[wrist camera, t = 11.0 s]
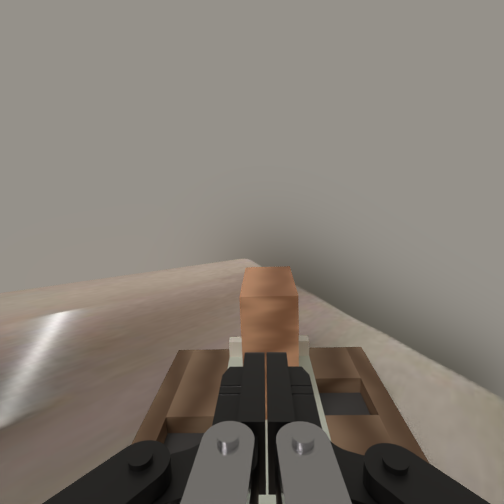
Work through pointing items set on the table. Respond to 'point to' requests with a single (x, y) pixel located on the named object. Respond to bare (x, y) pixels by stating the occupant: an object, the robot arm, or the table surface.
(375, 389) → the lane board
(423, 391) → the table surface
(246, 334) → the block
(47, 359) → the table surface
